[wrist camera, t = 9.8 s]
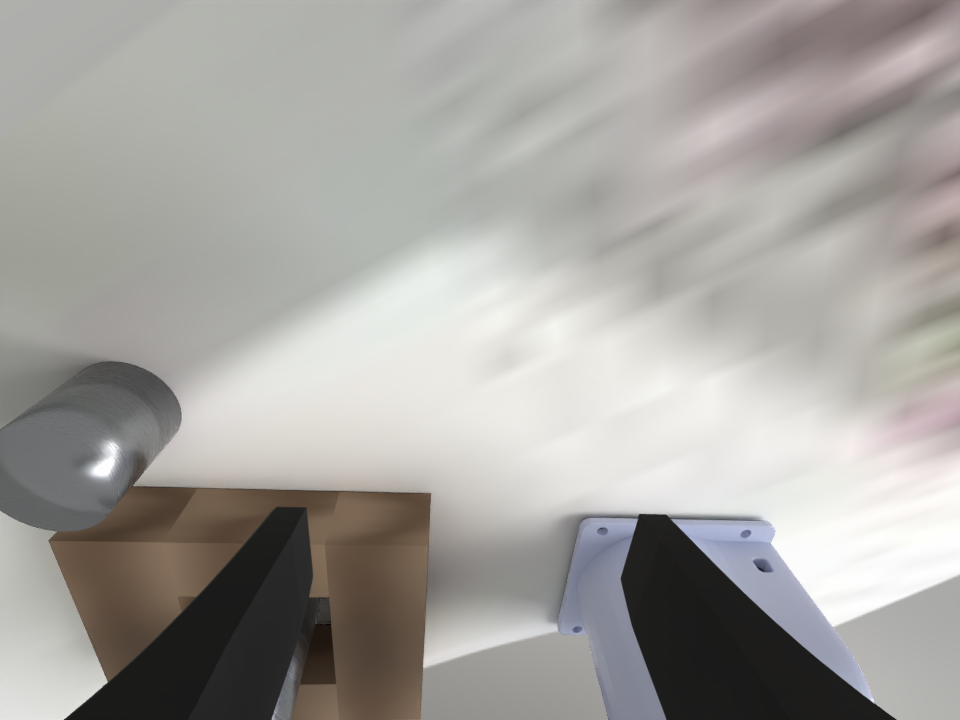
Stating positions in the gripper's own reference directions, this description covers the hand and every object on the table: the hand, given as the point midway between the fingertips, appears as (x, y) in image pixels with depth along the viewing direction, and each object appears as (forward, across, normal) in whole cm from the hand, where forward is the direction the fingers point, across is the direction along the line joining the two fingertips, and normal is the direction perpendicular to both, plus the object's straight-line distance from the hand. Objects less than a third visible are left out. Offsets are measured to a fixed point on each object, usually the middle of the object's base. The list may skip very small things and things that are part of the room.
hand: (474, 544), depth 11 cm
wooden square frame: (+9, +8, +13) cm, 18 cm away
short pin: (+10, +13, +3) cm, 16 cm away
